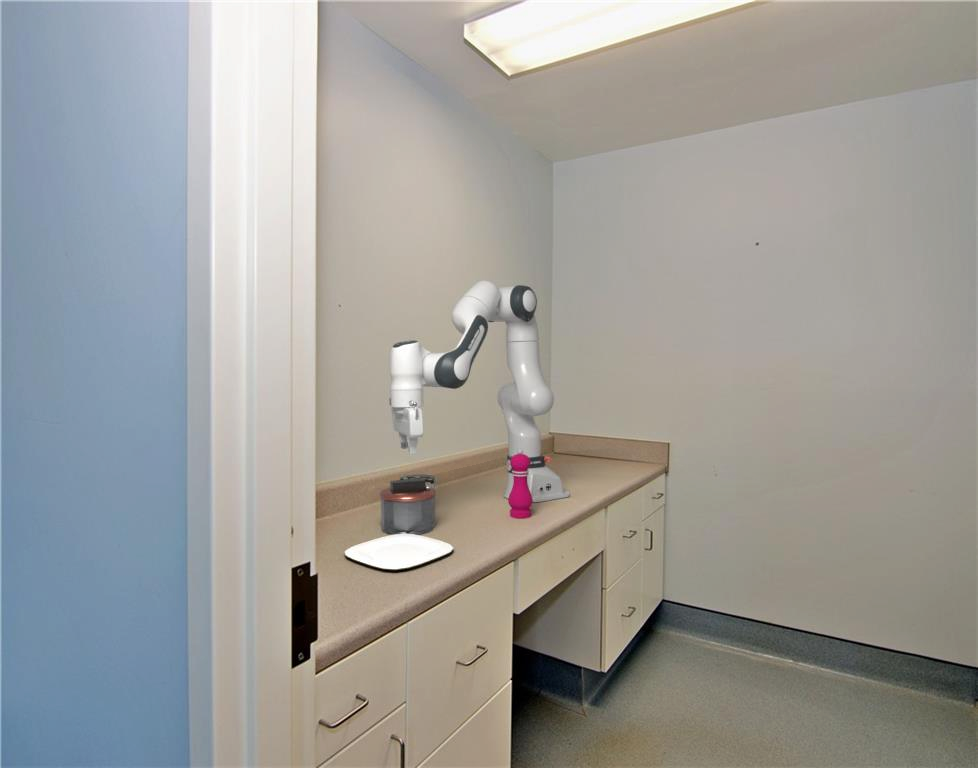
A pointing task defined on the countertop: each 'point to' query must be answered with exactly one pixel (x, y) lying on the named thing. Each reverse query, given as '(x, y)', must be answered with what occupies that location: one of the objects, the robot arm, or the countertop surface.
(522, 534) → the countertop surface
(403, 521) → the pot
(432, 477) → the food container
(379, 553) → the plate
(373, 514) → the countertop surface
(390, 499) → the lid
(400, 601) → the countertop surface
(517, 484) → the pepper mill
